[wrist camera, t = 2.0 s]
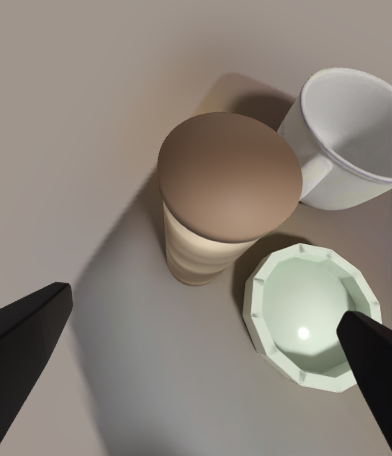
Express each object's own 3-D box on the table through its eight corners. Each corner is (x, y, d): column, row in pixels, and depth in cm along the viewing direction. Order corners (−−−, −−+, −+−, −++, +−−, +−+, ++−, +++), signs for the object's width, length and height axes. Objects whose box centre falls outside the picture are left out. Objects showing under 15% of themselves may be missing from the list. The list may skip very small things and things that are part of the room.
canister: (232, 275, 19) (329, 210, 7) (176, 296, 18) (185, 257, 6) (211, 223, 20) (263, 102, 9) (158, 239, 19) (140, 125, 8)
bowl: (385, 350, 18) (410, 354, 16) (278, 407, 16) (292, 419, 14) (320, 237, 21) (335, 230, 19) (224, 271, 19) (230, 267, 17)
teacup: (309, 125, 27) (363, 52, 19) (378, 194, 24) (471, 139, 16) (215, 172, 23) (237, 102, 15) (284, 261, 20) (351, 229, 12)
